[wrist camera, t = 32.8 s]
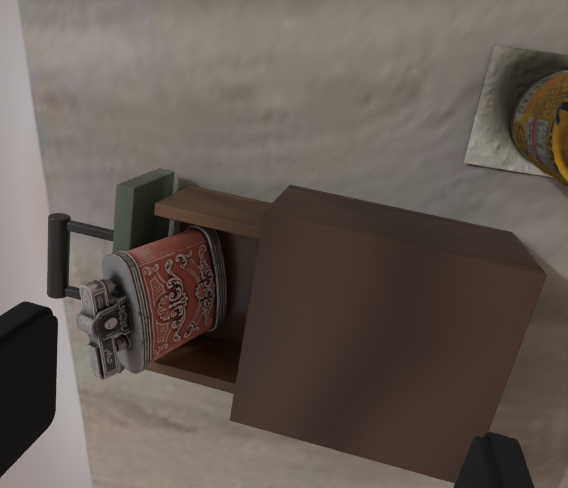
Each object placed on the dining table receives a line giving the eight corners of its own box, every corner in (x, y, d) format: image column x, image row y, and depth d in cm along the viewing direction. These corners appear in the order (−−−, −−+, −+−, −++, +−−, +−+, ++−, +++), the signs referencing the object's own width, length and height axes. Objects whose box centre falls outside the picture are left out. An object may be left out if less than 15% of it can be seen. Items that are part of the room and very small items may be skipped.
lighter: (188, 219, 36) (57, 262, 29) (222, 226, 35) (91, 275, 27) (197, 319, 39) (80, 382, 32) (229, 331, 37) (112, 402, 30)
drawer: (81, 311, 42) (31, 349, 36) (87, 152, 38) (32, 165, 32) (318, 373, 40) (306, 424, 34) (355, 210, 35) (348, 236, 29)
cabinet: (258, 358, 41) (229, 420, 34) (289, 184, 36) (263, 211, 29) (452, 409, 39) (467, 487, 32) (512, 232, 34) (547, 274, 27)
